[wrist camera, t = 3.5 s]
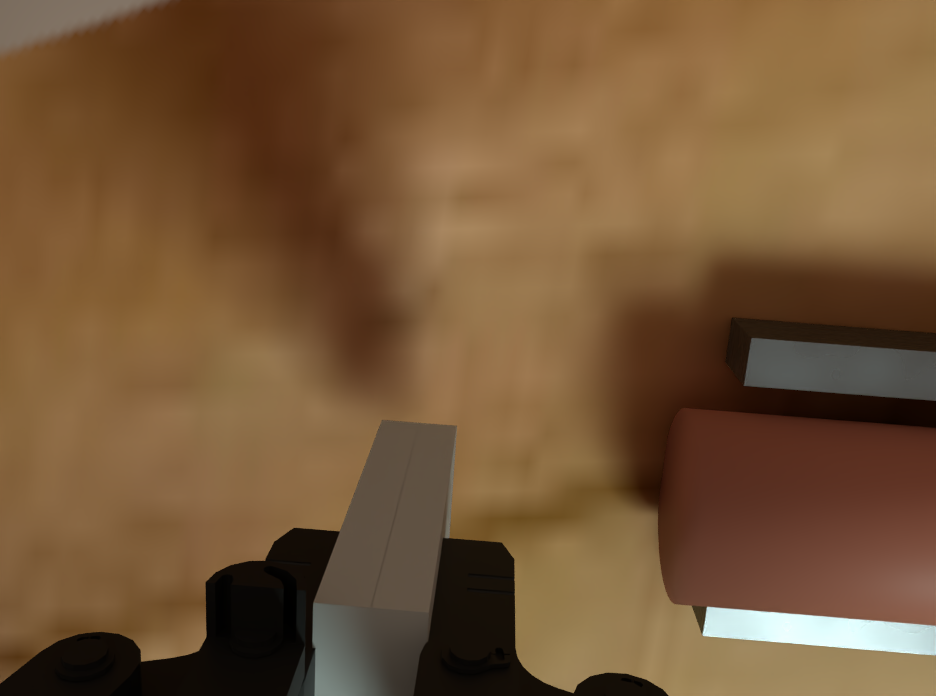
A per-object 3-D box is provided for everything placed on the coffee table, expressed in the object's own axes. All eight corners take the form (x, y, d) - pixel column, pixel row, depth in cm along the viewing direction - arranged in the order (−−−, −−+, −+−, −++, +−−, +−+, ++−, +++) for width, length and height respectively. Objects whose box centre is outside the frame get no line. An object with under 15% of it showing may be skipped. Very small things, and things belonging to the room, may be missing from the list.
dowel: (650, 529, 21) (679, 646, 18) (677, 376, 20) (714, 470, 16) (1078, 564, 21) (1197, 691, 17) (1139, 412, 19) (1285, 515, 16)
